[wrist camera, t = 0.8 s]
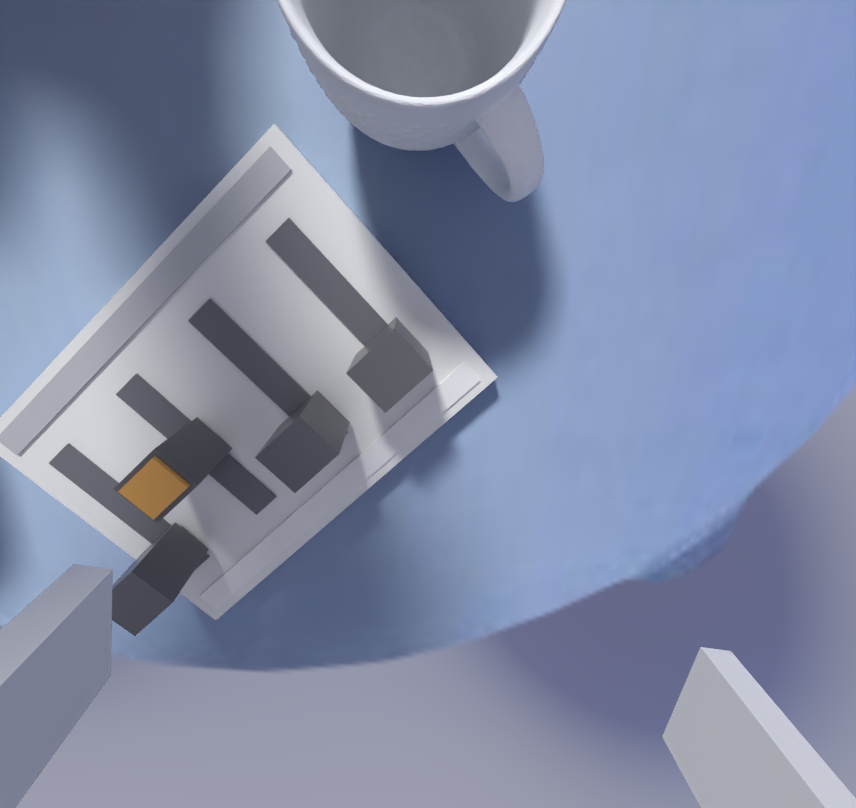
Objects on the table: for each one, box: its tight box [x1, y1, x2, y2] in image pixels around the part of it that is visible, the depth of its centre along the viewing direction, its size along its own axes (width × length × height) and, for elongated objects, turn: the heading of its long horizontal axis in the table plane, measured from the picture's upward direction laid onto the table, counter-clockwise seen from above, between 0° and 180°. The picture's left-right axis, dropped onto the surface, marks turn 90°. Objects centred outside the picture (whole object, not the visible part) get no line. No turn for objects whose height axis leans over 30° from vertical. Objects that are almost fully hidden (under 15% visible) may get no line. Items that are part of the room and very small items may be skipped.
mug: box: [277, 0, 566, 202], centre depth 22 cm, size 15×11×13 cm
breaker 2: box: [112, 523, 209, 636], centre depth 31 cm, size 3×4×6 cm
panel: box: [0, 124, 497, 620], centre depth 32 cm, size 20×28×2 cm
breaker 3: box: [255, 390, 350, 493], centre depth 29 cm, size 3×4×6 cm
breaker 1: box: [114, 417, 232, 524], centre depth 29 cm, size 3×4×6 cm
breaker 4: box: [346, 317, 433, 413], centre depth 28 cm, size 3×4×6 cm
